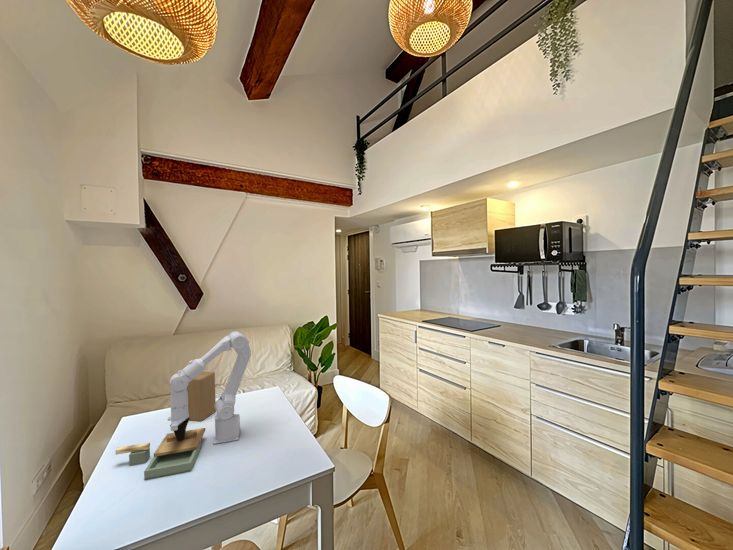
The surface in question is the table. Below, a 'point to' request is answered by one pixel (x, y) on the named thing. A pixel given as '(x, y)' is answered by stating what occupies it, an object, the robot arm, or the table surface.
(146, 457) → the block
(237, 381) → the robot arm
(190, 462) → the green piece
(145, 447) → the light wooden bar
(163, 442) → the lid
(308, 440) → the table surface
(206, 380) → the wooden block
